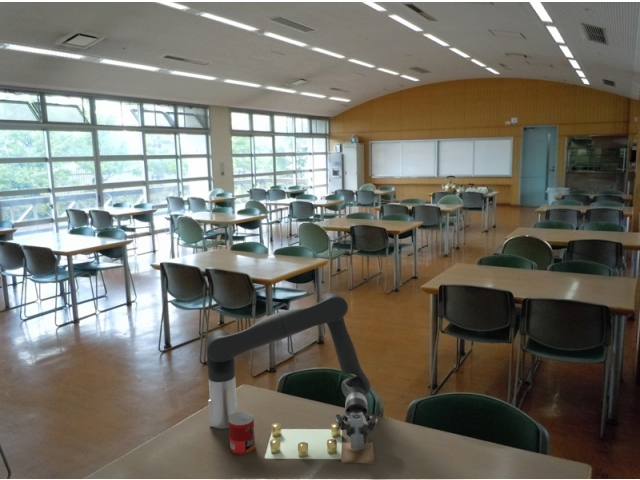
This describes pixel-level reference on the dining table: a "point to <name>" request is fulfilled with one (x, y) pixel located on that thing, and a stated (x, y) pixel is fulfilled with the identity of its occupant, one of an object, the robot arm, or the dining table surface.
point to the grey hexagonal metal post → (356, 431)
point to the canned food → (241, 433)
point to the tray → (357, 454)
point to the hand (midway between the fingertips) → (357, 434)
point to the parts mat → (310, 436)
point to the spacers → (303, 445)
